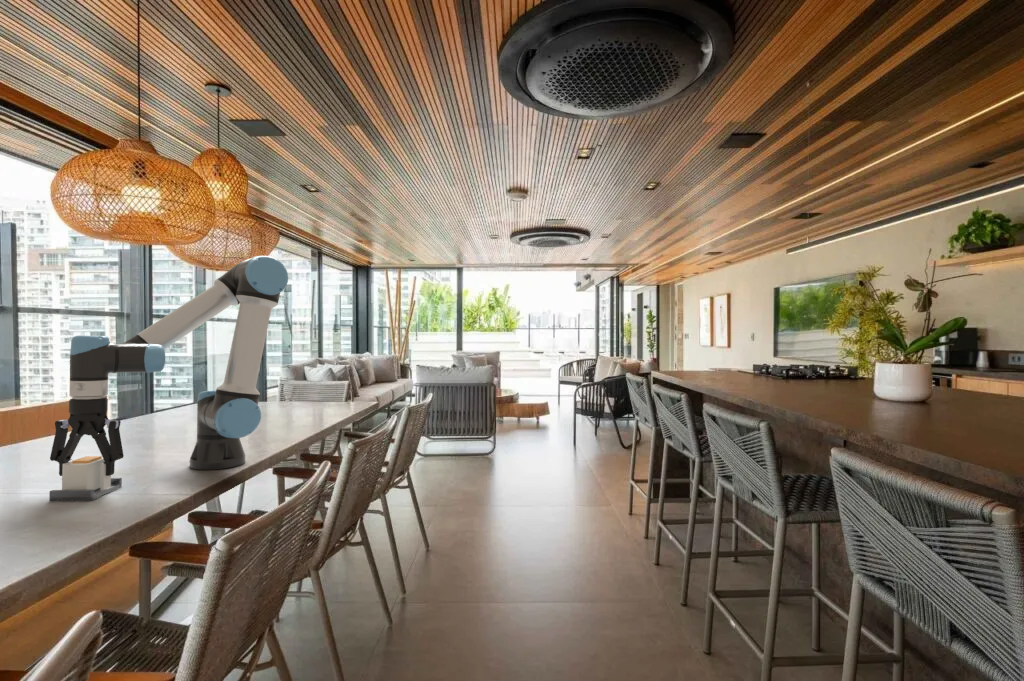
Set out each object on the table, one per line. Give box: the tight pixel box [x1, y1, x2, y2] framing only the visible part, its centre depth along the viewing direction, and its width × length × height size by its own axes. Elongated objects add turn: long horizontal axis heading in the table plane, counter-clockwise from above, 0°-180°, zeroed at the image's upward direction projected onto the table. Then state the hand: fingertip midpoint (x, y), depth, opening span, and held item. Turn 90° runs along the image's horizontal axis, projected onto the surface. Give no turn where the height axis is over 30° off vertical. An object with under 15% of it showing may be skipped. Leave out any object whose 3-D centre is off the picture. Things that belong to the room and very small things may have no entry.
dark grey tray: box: [48, 477, 123, 502], centre depth 132 cm, size 9×12×2 cm
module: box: [64, 455, 105, 490], centre depth 132 cm, size 5×8×8 cm, turn 7°
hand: (86, 488), depth 132 cm, fingers open, 8 cm apart
